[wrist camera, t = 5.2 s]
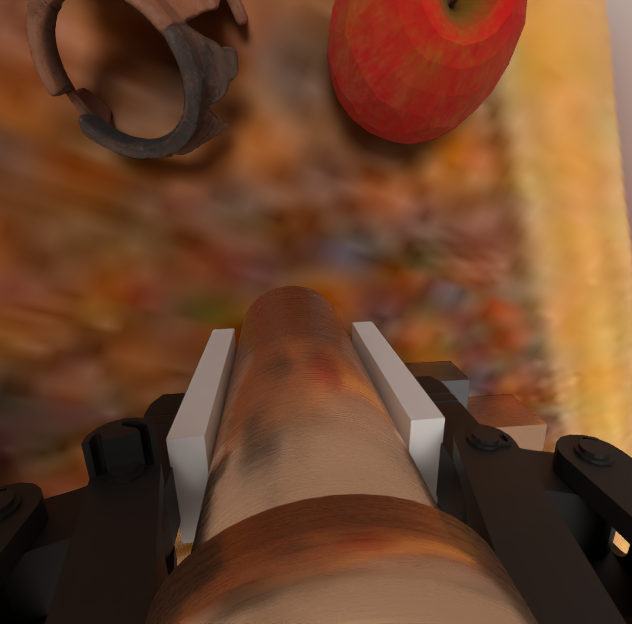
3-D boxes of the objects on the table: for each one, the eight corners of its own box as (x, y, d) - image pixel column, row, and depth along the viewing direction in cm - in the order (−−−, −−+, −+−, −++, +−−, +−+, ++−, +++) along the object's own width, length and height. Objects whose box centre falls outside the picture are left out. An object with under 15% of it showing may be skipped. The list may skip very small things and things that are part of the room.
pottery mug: (297, 58, 22) (265, 101, 16) (191, 151, 27) (136, 211, 21) (117, -221, 16) (-38, -312, 10) (21, -38, 21) (-124, -28, 15)
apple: (442, -30, 21) (597, -248, 11) (471, 128, 23) (620, 72, 13) (299, 18, 21) (319, -154, 11) (342, 171, 23) (392, 149, 13)
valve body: (252, 546, 31) (244, 643, 24) (237, 372, 26) (223, 431, 20) (494, 523, 32) (550, 608, 26) (516, 357, 28) (591, 406, 21)
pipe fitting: (237, 390, 18) (129, 991, 4) (227, 279, 16) (17, 690, 3) (348, 383, 18) (554, 900, 5) (350, 274, 17) (656, 605, 3)
